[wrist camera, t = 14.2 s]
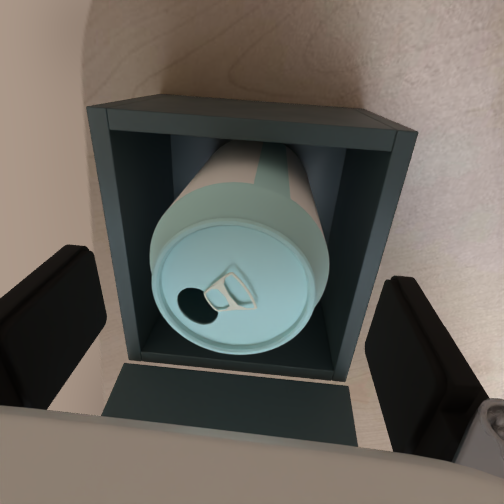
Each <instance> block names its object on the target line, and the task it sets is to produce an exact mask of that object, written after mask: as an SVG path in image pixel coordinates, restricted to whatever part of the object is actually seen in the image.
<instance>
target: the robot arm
mask: <svg viewBox="0 0 504 504" xmlns="http://www.w3.org/2000/svg"><path fill="white" fill-rule="evenodd" d="M106 320H107V314H106V309H105V304H104V300H103V295H102V290H101V285H100V281H99V276H98V271H97V266H96V261H95V257H94V253H93V252H92V251H89V249H88V248H87V247H86V246H79V245H65V246H64V247H62V248H61V249H60V250H59V251H58V252H56V253H55V254H54V255H53V256H52V257H50V258H49V259H48V260H47V261H46V262H44V263H43V264H42V265H41V266H39V267H38V268H37V269H36V270H34V271H33V272H32V273H31V274H30V275H28V276H27V277H26V278H25V279H23V280H22V281H21V282H20V283H19V284H17V285H16V286H15V287H14V288H12V289H11V290H10V291H9V292H8V293H7V294H5V295H4V296H3V297H2V298H0V504H504V400H503V399H495V398H491V399H490V398H489V397H488V395H487V393H486V392H485V390H484V389H483V387H482V385H481V384H480V382H479V381H478V379H477V377H476V376H475V374H474V372H473V371H472V369H471V368H470V366H469V364H468V363H467V361H466V360H465V358H464V356H463V355H462V353H461V352H460V350H459V348H458V347H457V345H456V344H455V342H454V340H453V339H452V337H451V335H450V334H449V332H448V331H447V329H446V327H445V326H444V325H443V323H442V322H441V320H440V319H439V317H438V315H437V314H436V312H435V310H434V309H433V307H432V306H431V304H430V302H429V301H428V299H427V298H426V296H425V294H424V293H423V291H422V290H421V288H420V286H419V285H418V283H417V281H416V280H415V279H414V278H413V277H404V276H393V277H392V278H391V280H386V281H385V283H384V285H383V289H382V292H381V295H380V298H379V301H378V304H377V307H376V310H375V314H374V317H373V320H372V323H371V326H370V329H369V332H368V335H367V339H366V342H365V354H366V358H367V361H368V365H369V368H370V372H371V375H372V379H373V382H374V386H375V389H376V393H377V396H378V400H379V403H380V407H381V410H382V414H383V417H384V421H385V424H386V428H387V431H388V435H389V438H390V442H391V445H392V449H393V452H390V451H383V450H376V449H369V448H362V447H354V446H347V445H339V444H331V443H323V442H315V441H307V440H299V439H291V438H283V437H275V436H266V435H258V434H250V433H242V432H234V431H225V430H217V429H208V428H200V427H191V426H183V425H174V424H166V423H157V422H149V421H140V420H131V419H123V418H114V417H105V416H96V415H87V414H78V413H69V412H60V411H51V410H47V408H48V407H49V406H50V404H51V403H52V401H53V400H54V398H55V397H56V395H57V394H58V392H59V391H60V390H61V388H62V387H63V385H64V384H65V382H66V381H67V379H68V378H69V377H70V375H71V373H72V372H73V371H74V369H75V368H76V366H77V365H78V363H79V362H80V361H81V359H82V358H83V356H84V355H85V353H86V352H87V350H88V349H89V348H90V346H91V345H92V343H93V342H94V340H95V339H96V337H97V336H98V334H99V333H100V332H101V330H102V329H103V327H104V326H105V323H106Z"/></svg>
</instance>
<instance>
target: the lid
mask: <svg viewBox="0 0 504 504" xmlns="http://www.w3.org/2000/svg"><path fill="white" fill-rule="evenodd" d="M101 416H105V417H114V418H123V419H131V420H140V421H149V422H157V423H166V424H174V425H183V426H191V427H200V428H208V429H217V430H225V431H234V432H242V433H250V434H258V435H266V436H275V437H283V438H291V439H299V440H307V441H315V442H323V443H331V444H339V445H347V446H354V447H358V443H357V437H356V431H355V424H354V418H353V411H352V405H351V399H350V392H349V387H348V386H343V385H333V384H324V383H314V382H304V381H294V380H285V379H275V378H265V377H256V376H246V375H236V374H226V373H217V372H207V371H197V370H187V369H178V368H168V367H158V366H149V365H139V364H129V363H124V364H123V367H122V369H121V371H120V374H119V376H118V378H117V381H116V383H115V385H114V387H113V390H112V392H111V394H110V397H109V399H108V401H107V403H106V406H105V408H104V410H103V413H102V415H101Z"/></svg>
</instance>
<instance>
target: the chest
mask: <svg viewBox="0 0 504 504" xmlns="http://www.w3.org/2000/svg"><path fill="white" fill-rule="evenodd" d="M86 109H87V115H88V121H89V127H90V133H91V139H92V145H93V151H94V156H95V162H96V168H97V174H98V180H99V186H100V192H101V198H102V204H103V210H104V216H105V222H106V228H107V234H108V240H109V245H110V251H111V257H112V263H113V269H114V275H115V281H116V287H117V293H118V299H119V305H120V311H121V317H122V323H123V328H124V334H125V340H126V346H127V352H128V358H129V360H134V361H144V362H154V363H164V364H173V365H183V366H193V367H203V368H212V369H222V370H232V371H242V372H252V373H261V374H271V375H281V376H291V377H300V378H310V379H320V380H330V381H331V380H332V381H340V382H345V381H346V378H347V375H348V371H349V368H350V365H351V361H352V358H353V354H354V351H355V347H356V344H357V341H358V337H359V334H360V330H361V327H362V324H363V320H364V317H365V313H366V310H367V307H368V303H369V300H370V296H371V293H372V289H373V286H374V283H375V279H376V276H377V272H378V269H379V266H380V262H381V259H382V255H383V252H384V248H385V245H386V242H387V238H388V235H389V231H390V228H391V225H392V221H393V218H394V214H395V211H396V208H397V204H398V201H399V197H400V194H401V190H402V187H403V184H404V180H405V177H406V173H407V170H408V167H409V163H410V160H411V156H412V153H413V150H414V146H415V143H416V139H417V136H418V132H417V131H415V130H413V129H411V128H408V127H406V126H403V125H401V124H399V123H396V122H394V121H391V120H389V119H387V118H384V117H382V116H379V115H377V114H375V113H372V112H370V111H367V110H365V109H357V108H343V107H330V106H316V105H303V104H289V103H276V102H262V101H249V100H235V99H221V98H208V97H194V96H181V95H167V94H157V95H151V96H145V97H139V98H133V99H128V100H122V101H116V102H110V103H104V104H98V105H92V106H87V107H86ZM232 140H247V141H260V142H273V143H282V144H284V145H285V146H287V147H288V148H289V149H291V150H292V151H293V152H294V153H295V154H296V156H297V157H298V158H299V159H300V161H301V162H302V164H303V166H304V168H305V170H306V173H307V176H308V180H309V184H310V187H311V191H312V194H313V198H314V202H315V205H316V209H317V213H318V216H319V220H320V223H321V227H322V231H323V234H324V238H325V241H326V245H327V249H328V254H329V274H328V280H327V283H326V287H325V290H324V292H323V295H322V297H321V298H320V300H319V302H318V303H317V305H316V306H315V308H314V310H313V313H312V315H311V317H310V319H309V321H308V322H307V324H306V325H305V327H304V328H303V329H302V330H301V331H300V332H299V333H298V334H297V335H296V336H295V337H294V338H292V339H291V340H290V341H288V342H286V343H285V344H283V345H281V346H279V347H277V348H274V349H272V350H269V351H265V352H261V353H256V354H247V355H234V354H225V353H219V352H215V351H212V350H208V349H206V348H203V347H201V346H198V345H196V344H194V343H193V342H191V341H189V340H187V339H186V338H184V337H183V336H182V335H180V334H179V333H178V332H177V331H176V330H174V329H173V328H172V327H171V326H170V325H169V323H168V322H167V321H166V320H165V318H164V317H163V316H162V314H161V312H160V311H159V309H158V307H157V305H156V302H155V299H154V296H153V291H152V273H151V268H150V245H151V240H152V236H153V233H154V230H155V228H156V226H157V224H158V222H159V221H160V219H161V217H162V216H163V215H164V213H165V212H166V211H167V210H168V208H169V207H170V206H171V205H172V203H173V202H174V201H175V200H176V199H177V197H178V196H179V195H180V194H181V193H182V191H183V190H184V189H185V188H186V186H187V185H188V184H189V183H190V182H191V180H192V179H193V178H194V177H195V176H196V174H197V173H198V172H199V171H200V169H201V168H202V167H203V166H204V165H205V163H206V162H207V161H208V160H209V159H210V157H211V156H212V155H213V154H214V153H215V152H216V151H217V150H218V149H219V148H220V147H221V146H223V145H224V144H226V143H228V142H230V141H232Z"/></svg>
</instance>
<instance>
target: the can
mask: <svg viewBox="0 0 504 504" xmlns="http://www.w3.org/2000/svg"><path fill="white" fill-rule="evenodd" d="M150 268H151V273H152V291H153V296H154V299H155V302H156V305H157V307H158V309H159V311H160V312H161V314H162V316H163V317H164V318H165V320H166V321H167V322H168V323H169V325H170V326H171V327H172V328H173V329H174V330H176V331H177V332H178V333H179V334H180V335H182V336H183V337H184V338H186V339H187V340H189V341H191V342H193V343H194V344H196V345H198V346H201V347H203V348H206V349H208V350H212V351H215V352H219V353H225V354H234V355H247V354H256V353H261V352H265V351H269V350H272V349H274V348H277V347H279V346H281V345H283V344H285V343H286V342H288V341H290V340H291V339H292V338H294V337H295V336H296V335H297V334H298V333H299V332H300V331H301V330H302V329H303V328H304V327H305V325H306V324H307V322H308V321H309V319H310V317H311V315H312V313H313V310H314V308H315V306H316V305H317V303H318V302H319V300H320V298H321V297H322V295H323V292H324V290H325V287H326V283H327V280H328V274H329V254H328V249H327V245H326V241H325V238H324V234H323V231H322V227H321V223H320V220H319V216H318V213H317V209H316V205H315V202H314V198H313V194H312V191H311V187H310V184H309V180H308V176H307V173H306V170H305V168H304V166H303V164H302V162H301V161H300V159H299V158H298V157H297V156H296V154H295V153H294V152H293V151H292V150H291V149H289V148H288V147H287V146H285V145H284V144H282V143H273V142H260V141H247V140H232V141H230V142H228V143H226V144H224V145H223V146H221V147H220V148H219V149H218V150H217V151H216V152H215V153H214V154H213V155H212V156H211V157H210V159H209V160H208V161H207V162H206V163H205V165H204V166H203V167H202V168H201V169H200V171H199V172H198V173H197V174H196V176H195V177H194V178H193V179H192V180H191V182H190V183H189V184H188V185H187V186H186V188H185V189H184V190H183V191H182V193H181V194H180V195H179V196H178V197H177V199H176V200H175V201H174V202H173V203H172V205H171V206H170V207H169V208H168V210H167V211H166V212H165V213H164V215H163V216H162V217H161V219H160V221H159V222H158V224H157V226H156V228H155V230H154V233H153V236H152V240H151V245H150Z"/></svg>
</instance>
